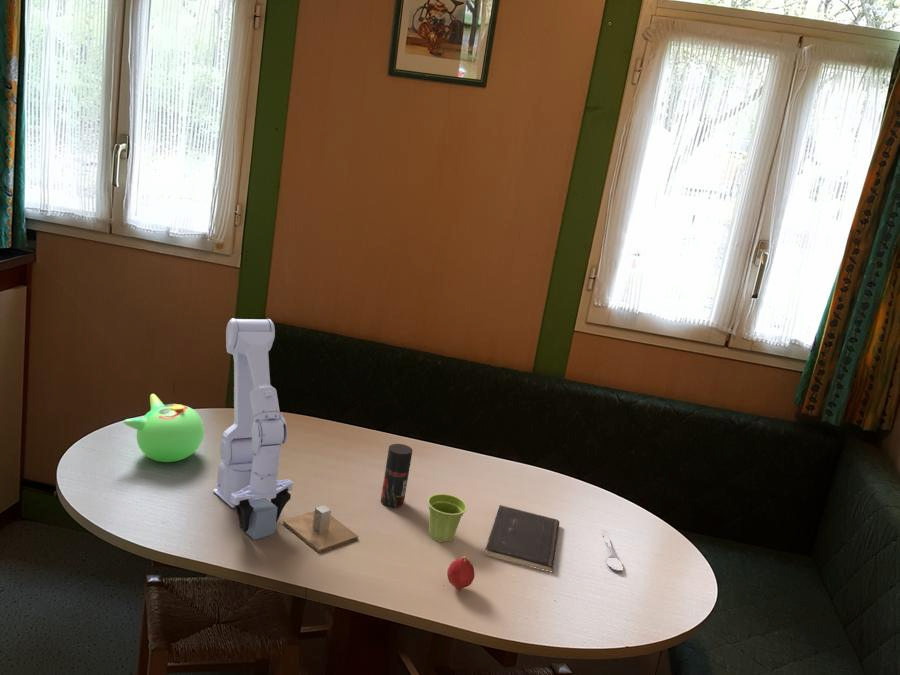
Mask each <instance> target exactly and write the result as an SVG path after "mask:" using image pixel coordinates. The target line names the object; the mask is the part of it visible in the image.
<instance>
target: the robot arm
mask: <svg viewBox="0 0 900 675" xmlns="http://www.w3.org/2000/svg"><path fill="white" fill-rule="evenodd" d="M225 329H226V330H225V347H226V352H227V353H228V354H230V355H232V356H233V369H234V370H233V375H234V376H233V385H234V386H233V393H234V394H233V400H234V401H233V407H234V408H233V412H234V413H233V424H232V425H231V426H229V427H228V428H226V430H224V432H222V434H221V443H220V447H219V448H220V449H219V450H220V451H219V452H220V453H219V454H220V455H219V456H220V460H221V462H220V463H219V466H218V471H217V479H216V480H217V481H216V488H214V489H213V491H212V492H214V494H216V495H217V496H218V497H219V498H220V499H221V500H223V501H224V503H226V504H228V506H229V507H231V508H232V509H235V510H236V514H237V517H238V522H239V529H240V530H242V531H243V532H245V533H246V531H248V528H249V520H250V516H251V513H252V511H253V509H254V508H253V507H252V506H251V505H250V502H249V501H253V500H256V499H260V498H267V499H268V500H270V502H272V503H273V504H274V505H275V506H277V507H278V509H277V517H276V523H278V521H279V519H280V516H281V513H282V512H283V509H284V507H285V506H286V504H288V502H289V501H290V500H291V497H292V496H291V494H292V493H290V492H291V491H293V485H294V482H293V481H292V480H290V479H289V478H288V479H282V480H281V479H280V480H278V478H279V477H278V476H279V467H280V461H281V460H280V459H281V450H282V444H283V445H284V444H286V442H287V440H288V439H287V438H288V427H287V425H288V424H287V422H286V419H285V417H284V416H283V415H284V414H283V413H282V412H280V406H279V399H278V393H277V392H278V391H277V389H276V388H275V387H273V386H272V384H271V377H270V376H271V375H270V359H269V358H270V357H269V351H271V349H272V347H273V343H274V342H275V338H276V335H275V334H276V330H275V324H274V322H273V321H272V319H270V318H266V319H264V318H263V319H260V318H259V319H255V318H252V319H251V318H250V319H248V318H245V319H244V318H233V317H232V318H230V320H229V321H228V322H227V325H226V327H225Z"/></svg>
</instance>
